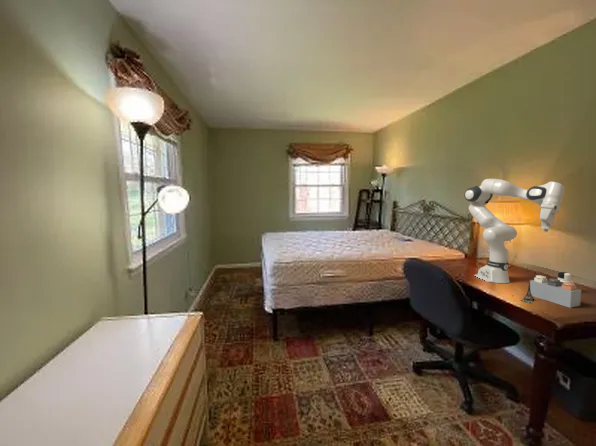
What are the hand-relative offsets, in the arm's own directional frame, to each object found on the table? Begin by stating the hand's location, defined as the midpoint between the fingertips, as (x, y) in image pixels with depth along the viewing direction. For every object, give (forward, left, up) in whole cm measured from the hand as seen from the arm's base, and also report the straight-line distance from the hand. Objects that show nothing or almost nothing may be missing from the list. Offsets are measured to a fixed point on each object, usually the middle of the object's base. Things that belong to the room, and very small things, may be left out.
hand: (544, 230), depth 184 cm
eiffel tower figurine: (+4, -17, -41) cm, 44 cm away
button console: (+10, -4, -40) cm, 41 cm away
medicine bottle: (+1, +18, -40) cm, 44 cm away
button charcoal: (+10, -4, -35) cm, 37 cm away
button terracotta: (+17, -4, -35) cm, 39 cm away
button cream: (+2, -4, -35) cm, 36 cm away
